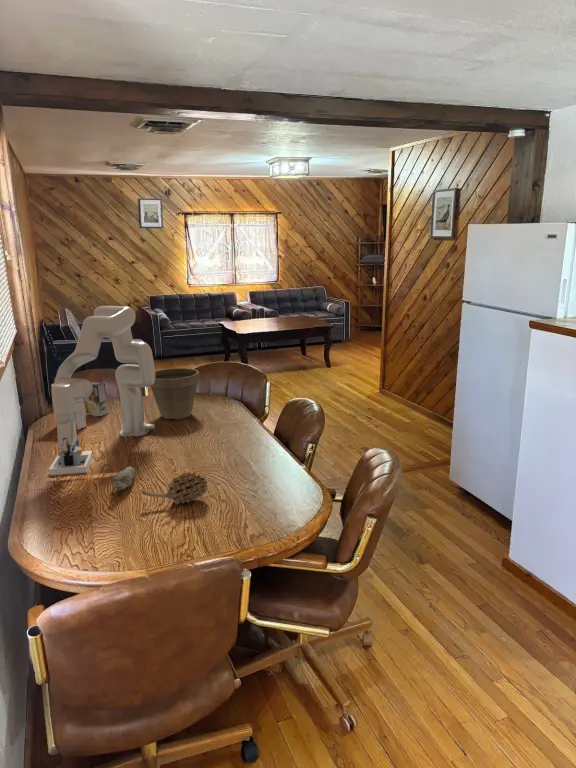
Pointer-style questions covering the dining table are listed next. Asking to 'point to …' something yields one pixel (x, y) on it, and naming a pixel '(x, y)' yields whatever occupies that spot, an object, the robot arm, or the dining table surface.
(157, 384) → the plant pot
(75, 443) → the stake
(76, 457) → the collar
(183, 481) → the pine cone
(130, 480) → the decorative bird
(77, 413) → the cracker box
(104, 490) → the dining table surface
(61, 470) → the tray
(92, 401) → the coffee box
